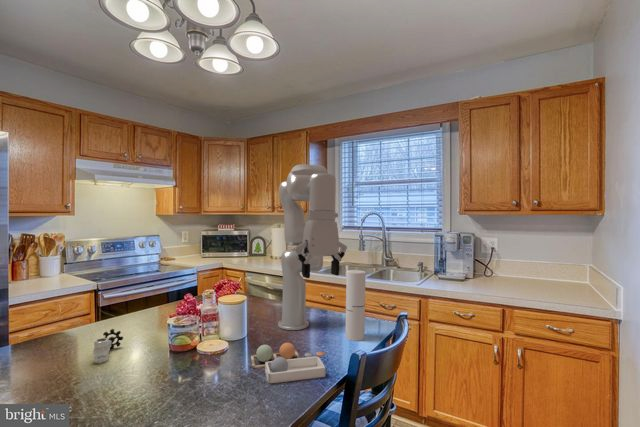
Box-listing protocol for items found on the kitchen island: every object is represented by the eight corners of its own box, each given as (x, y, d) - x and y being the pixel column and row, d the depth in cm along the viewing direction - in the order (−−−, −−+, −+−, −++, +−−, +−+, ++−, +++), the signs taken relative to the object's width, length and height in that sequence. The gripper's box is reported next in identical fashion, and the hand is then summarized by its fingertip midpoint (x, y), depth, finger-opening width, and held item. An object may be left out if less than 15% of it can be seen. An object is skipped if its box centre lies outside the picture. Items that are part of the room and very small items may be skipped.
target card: (299, 353, 111) (299, 351, 111) (325, 350, 113) (325, 348, 113) (303, 361, 105) (303, 359, 105) (330, 358, 107) (330, 356, 107)
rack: (250, 358, 106) (250, 355, 106) (296, 353, 110) (296, 350, 110) (252, 369, 98) (252, 366, 98) (301, 364, 103) (301, 361, 103)
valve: (111, 363, 101) (123, 347, 113) (111, 341, 101) (123, 328, 113) (86, 365, 99) (101, 349, 111) (86, 343, 99) (101, 329, 111)
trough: (265, 371, 97) (265, 361, 97) (318, 365, 102) (318, 356, 102) (268, 385, 90) (268, 374, 90) (325, 378, 94) (325, 367, 94)
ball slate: (269, 372, 96) (269, 354, 96) (286, 370, 98) (286, 353, 98) (271, 380, 91) (272, 362, 91) (289, 378, 93) (289, 360, 93)
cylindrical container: (363, 341, 121) (364, 273, 121) (344, 339, 123) (345, 272, 123) (364, 334, 128) (366, 270, 128) (346, 333, 130) (347, 269, 130)
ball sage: (255, 358, 105) (255, 342, 105) (271, 357, 106) (271, 341, 106) (256, 365, 100) (257, 349, 100) (273, 364, 102) (273, 347, 102)
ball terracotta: (278, 356, 107) (278, 340, 107) (293, 354, 108) (293, 339, 108) (280, 363, 102) (280, 347, 102) (296, 361, 104) (296, 345, 104)
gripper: (339, 216, 103) (338, 271, 103) (289, 216, 94) (288, 276, 94) (354, 217, 97) (352, 275, 97) (301, 216, 88) (300, 281, 88)
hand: (320, 276), depth 96 cm, fingers open, 9 cm apart
